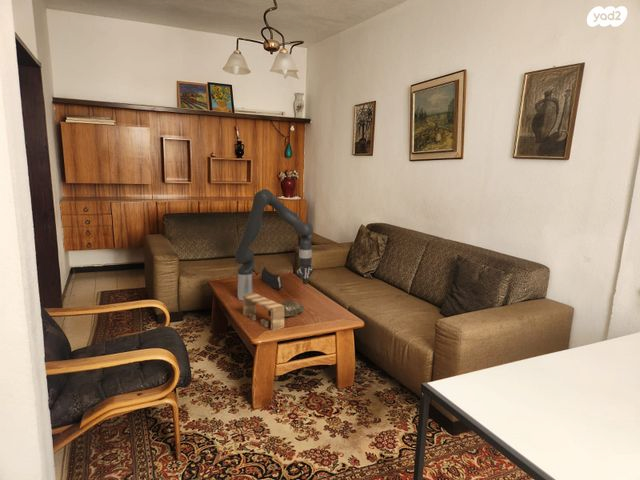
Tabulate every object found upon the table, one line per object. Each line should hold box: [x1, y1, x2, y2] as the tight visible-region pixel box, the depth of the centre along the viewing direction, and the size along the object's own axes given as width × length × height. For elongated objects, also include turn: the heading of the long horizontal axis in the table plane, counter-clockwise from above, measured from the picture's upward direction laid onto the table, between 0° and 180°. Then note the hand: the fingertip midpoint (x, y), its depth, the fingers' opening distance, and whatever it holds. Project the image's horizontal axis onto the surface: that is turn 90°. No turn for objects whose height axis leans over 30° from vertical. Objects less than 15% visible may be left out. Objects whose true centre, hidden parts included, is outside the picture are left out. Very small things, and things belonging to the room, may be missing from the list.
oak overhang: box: [242, 292, 285, 332], centre depth 229 cm, size 29×8×12 cm, turn 43°
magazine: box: [260, 267, 283, 291], centre depth 295 cm, size 17×3×30 cm
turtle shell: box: [269, 300, 305, 318], centre depth 241 cm, size 16×9×20 cm
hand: (305, 284), depth 248 cm, fingers closed
